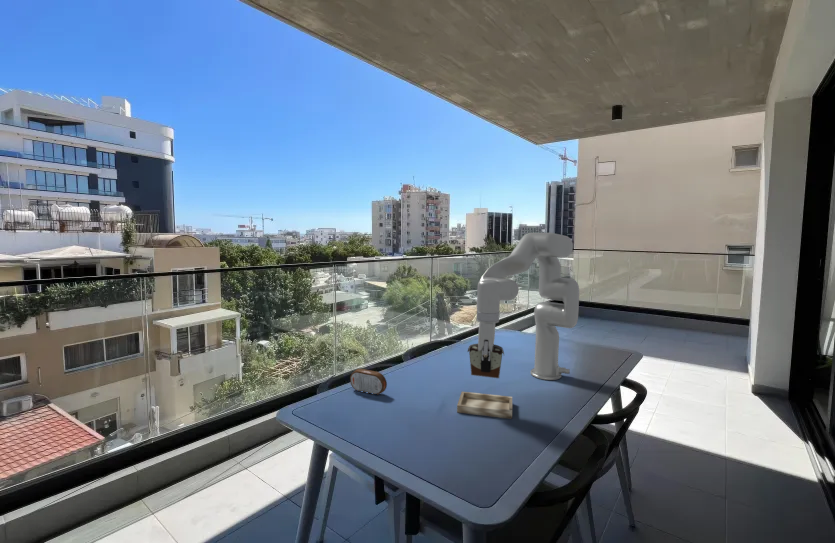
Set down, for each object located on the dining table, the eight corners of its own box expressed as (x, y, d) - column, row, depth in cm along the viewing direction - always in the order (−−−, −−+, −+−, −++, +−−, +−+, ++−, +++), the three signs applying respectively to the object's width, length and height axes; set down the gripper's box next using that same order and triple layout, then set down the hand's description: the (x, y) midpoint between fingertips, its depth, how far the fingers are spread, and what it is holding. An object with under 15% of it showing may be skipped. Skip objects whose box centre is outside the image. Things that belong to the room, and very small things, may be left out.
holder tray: (512, 403, 138) (512, 396, 138) (512, 418, 127) (512, 411, 126) (461, 398, 142) (461, 391, 142) (457, 412, 131) (457, 405, 131)
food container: (505, 373, 135) (506, 344, 134) (503, 379, 129) (504, 349, 128) (470, 368, 139) (470, 341, 138) (466, 374, 133) (467, 346, 132)
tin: (387, 394, 145) (387, 372, 144) (383, 397, 142) (383, 375, 141) (353, 387, 151) (353, 366, 151) (348, 390, 149) (348, 369, 148)
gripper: (478, 311, 141) (477, 360, 142) (474, 321, 124) (472, 376, 126) (499, 312, 139) (498, 362, 141) (498, 322, 122) (496, 378, 124)
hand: (486, 368), depth 133 cm, fingers closed on food container, 5 cm apart
